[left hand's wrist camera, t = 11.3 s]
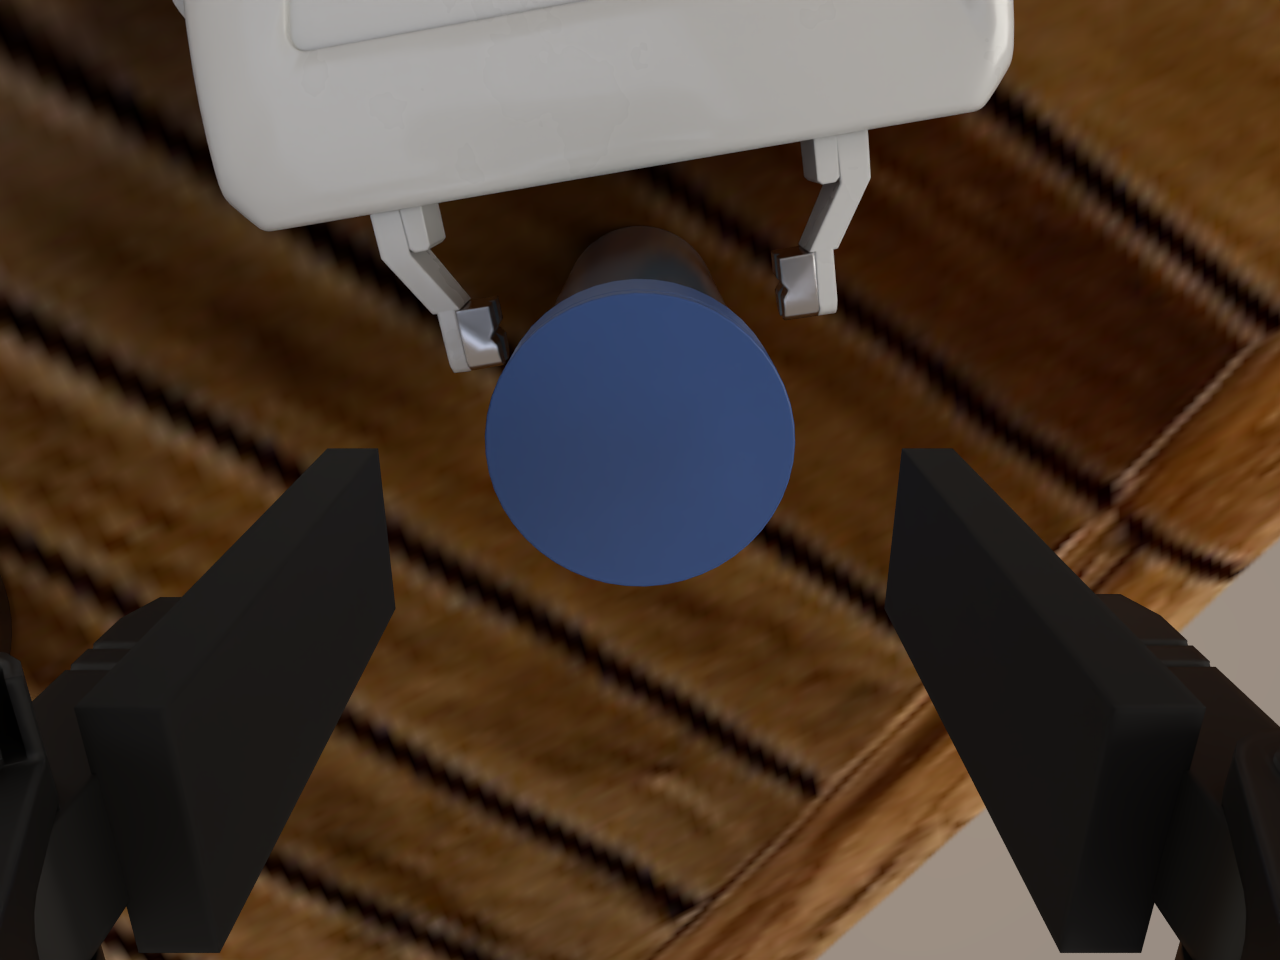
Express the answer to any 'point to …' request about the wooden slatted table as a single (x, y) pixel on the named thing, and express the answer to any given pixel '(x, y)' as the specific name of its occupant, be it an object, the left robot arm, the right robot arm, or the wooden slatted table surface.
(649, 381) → the lid
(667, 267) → the jar
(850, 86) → the right robot arm
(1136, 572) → the wooden slatted table surface
